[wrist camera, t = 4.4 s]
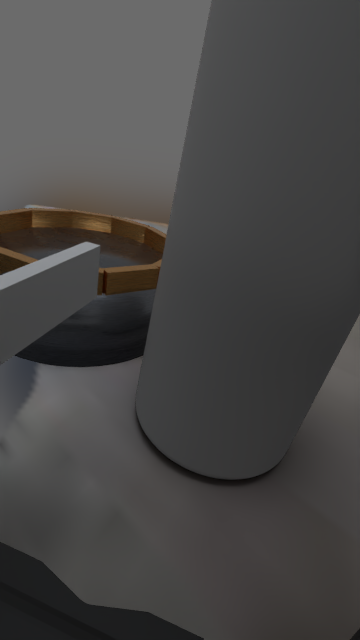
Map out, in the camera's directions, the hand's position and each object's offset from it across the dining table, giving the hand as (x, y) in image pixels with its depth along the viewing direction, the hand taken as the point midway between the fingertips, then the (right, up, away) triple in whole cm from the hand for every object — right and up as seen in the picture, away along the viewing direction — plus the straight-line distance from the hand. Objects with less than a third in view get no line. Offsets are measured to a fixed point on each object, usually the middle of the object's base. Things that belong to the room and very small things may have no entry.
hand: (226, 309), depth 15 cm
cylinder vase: (0, -8, +12) cm, 15 cm away
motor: (-12, 0, +24) cm, 27 cm away
